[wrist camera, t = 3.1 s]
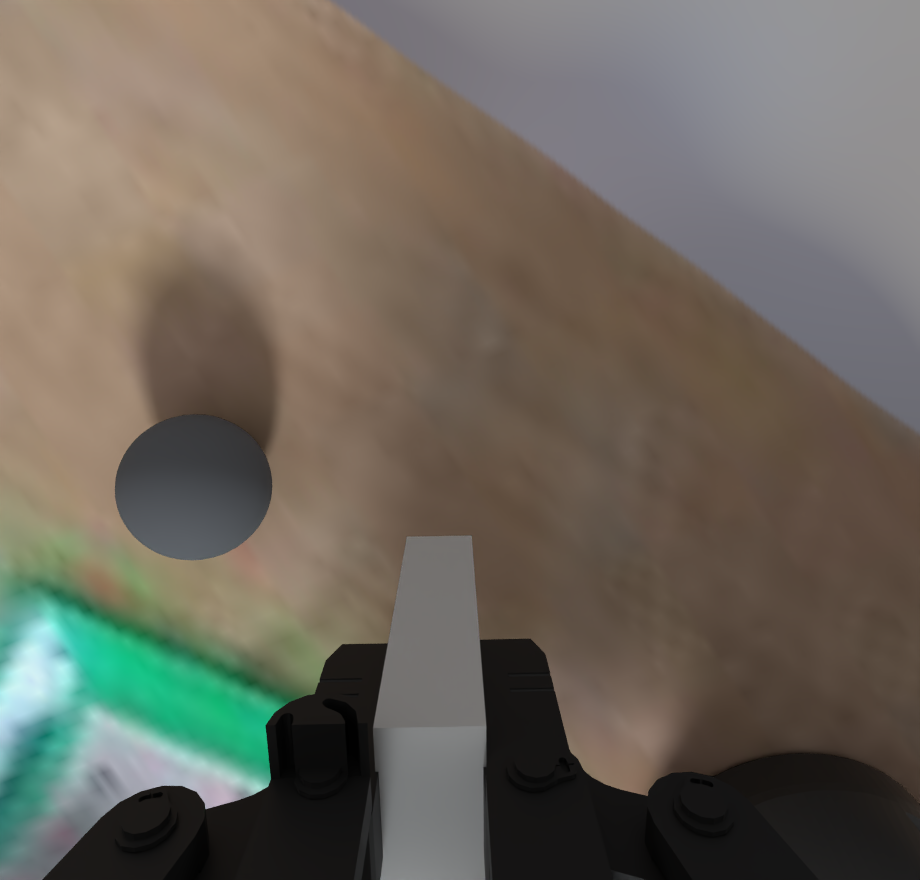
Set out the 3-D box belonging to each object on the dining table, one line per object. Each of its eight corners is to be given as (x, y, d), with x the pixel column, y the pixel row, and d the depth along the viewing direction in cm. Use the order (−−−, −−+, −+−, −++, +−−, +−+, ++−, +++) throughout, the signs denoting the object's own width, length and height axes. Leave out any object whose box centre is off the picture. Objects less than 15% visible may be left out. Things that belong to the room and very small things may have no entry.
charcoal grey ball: (282, 401, 26) (239, 430, 21) (292, 527, 28) (254, 584, 22) (148, 403, 26) (71, 433, 21) (164, 529, 28) (95, 587, 22)
